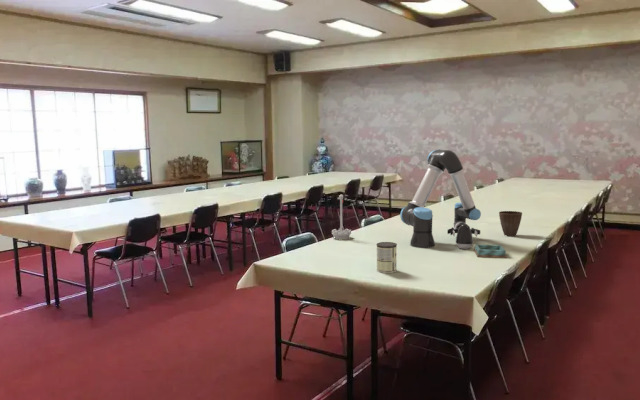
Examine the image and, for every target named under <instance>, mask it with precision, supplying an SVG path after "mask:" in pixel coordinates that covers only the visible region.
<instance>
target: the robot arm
mask: <svg viewBox="0 0 640 400" xmlns="http://www.w3.org/2000/svg"><path fill="white" fill-rule="evenodd" d="M426 167H427V170H426V172H425V174H424V176H423V178H422V180H421V182H420V184H419V186H418V188H417V190H416V192H415V194H414V196H413V198H412V200H411V201H409V202H408V203H407V205H406V206H405V207H402V208H401V211H400V214H399V215H400V220H401V222H402V223H404V224H405V225H408V226H410V227H411V226H412V227H413V230H412V231H413V233H412V236H411V239H410V246H411V247H414V248H433V247H435V244H436V242H435V239H434V235H433V216H434V215H433V211H432V209H430V208H428V207H425V206H426V203H427V201H428V199H429V197H430V195H431V193H432V192H433V189H434V187H435V186H436V183H437V181H438V179H439V177H440V175H442V174H443V173H444V172H445V170H446V171H447V173H448V174H449V175H450V178H451V179H452V182H453V184H454V185H453V186H454V188H455V190H456V192H457V196H458V197H459V202H455V204H454V209H453V211H454V219H453V220H454V221H453V227H451V228H449V229H447V235H450V236H453V237H455V235H456V234H457V232H458V230H459V227H460V226H461V225H462V224H467V222H466V221H467V220H470V221H477V220H479V219H480V218H481V215H482V212H481V211H480V209H478V208H477V207H476V205H475V201H474V199H473V196H472V194H471V191H470V188H469V185H468V183H467V179H466V178H465V174H464V171H463V170H464V166H463V163H462V162H461V160H460V158H459V156H458V155H457V154H456V153H455V152H454V151H453V150H449V149H434V150H432V151H431V152H430V153H429V154H428V156H427V164H426ZM470 229H471V233H472V235H474V236H475V237H478V236H479V235H481V230H480V229H477V228H474V227H470Z"/></svg>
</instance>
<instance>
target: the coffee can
mask: <svg viewBox="0 0 640 400" xmlns="http://www.w3.org/2000/svg"><path fill="white" fill-rule="evenodd" d="M397 246H398V244H397V243H395V242H391V241H380V242H378V243H376V272H378V273H382V274H391V273H392V274H393V273H396V272H397Z"/></svg>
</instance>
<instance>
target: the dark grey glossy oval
mask: <svg viewBox="0 0 640 400" xmlns="http://www.w3.org/2000/svg"><path fill="white" fill-rule="evenodd" d="M473 238H474V237H473V234H472V233H471V226H470V225H468V224H467V223H466V224H462V225H461V226H460V227H459V230H458V232H457V233H456V238H455V244H456V246H457V247H458V248H459V249H461V250H469V249H471V247H473V243H474V240H473Z"/></svg>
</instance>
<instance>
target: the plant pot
mask: <svg viewBox="0 0 640 400" xmlns="http://www.w3.org/2000/svg"><path fill="white" fill-rule="evenodd" d="M498 216H499V220H500V221H499V222H500V225H501V230H502V232H503V235H504V236H505V235H508V236H507V237H516V236H517V233H518V232H519V228H520V225H521V221H522V218H523V217H522V216H523V212H522V211H516V210H513V211H512V210H500V211H499V212H498ZM515 235H516V236H515Z"/></svg>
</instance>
